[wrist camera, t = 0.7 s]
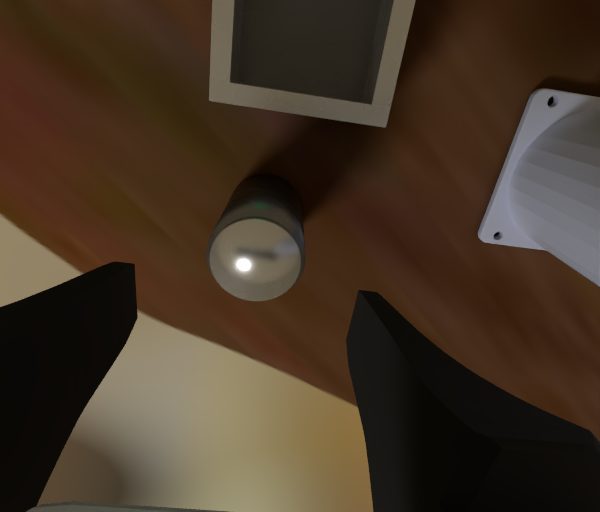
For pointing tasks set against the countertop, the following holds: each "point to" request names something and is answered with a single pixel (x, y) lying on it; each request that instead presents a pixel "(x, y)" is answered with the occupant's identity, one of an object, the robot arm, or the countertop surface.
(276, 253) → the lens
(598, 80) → the countertop surface
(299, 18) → the mount socket
